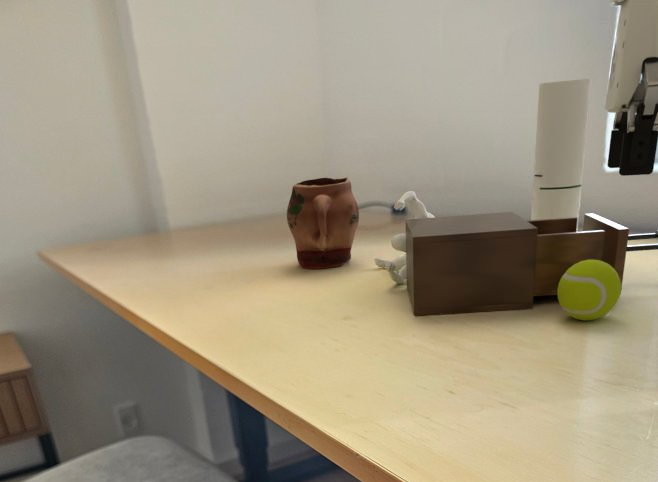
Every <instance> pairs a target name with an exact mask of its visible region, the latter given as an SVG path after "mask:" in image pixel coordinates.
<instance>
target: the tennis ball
mask: <svg viewBox="0 0 658 482" xmlns="http://www.w3.org/2000/svg"><path fill="white" fill-rule="evenodd" d="M557 292H558V295H557V300H558V303H559V305H560V307H561V308H562V310H563V311H564V312H565V313H566V314H567V315H568V316H570V317H572V318H573V319H576V320H579V321H593V320H597V319H600V318H602V317H605V316H606V315H607V314H609V313H610V312H611V311H612V310H613V309H614V307H615V306H616V305H617V304H618V302H619V300H620V297H621V295H620V293H621V294H622V289H621V282H620V278H619V276H618V273H617V272H616V271H615V269H614V268H613V267H612V266H610V265H609V264H607V263H605V262H603V261H600V260H585V261H581V262H579V263H576V264H574V265H573V266H571V267H570V268H569V269H568V270H567V271H566V273H565V274H564V275H563V276H562V278H561V280H560V282H559V285H558V291H557Z"/></svg>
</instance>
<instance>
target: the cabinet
mask: <svg viewBox="0 0 658 482" xmlns="http://www.w3.org/2000/svg"><path fill="white" fill-rule="evenodd" d="M434 217H435V216H434ZM527 221H528V220H526V219H524V218H523V217H522V216H519V214H517V213H515V212H514V211H503V212H491V213H477V214H464V215H463V214H462V215H452V216H451V215H450V216H448V215H447V216H436V217H435V218H421V219H414V218H408V219H405V232H406V253H405V254H406V274H407V279H406V290H407V296H408V298H409V302H410V306H411V309H412V314H413V316H414V317H420V316H434V315H437V316H439V315H452V314H469V313H482V312H483V313H484V312H485V313H486V312H500V311H517V310H532V309H533V306H534V303H533V302H534V296H533V293H534V279H535V264H536V249H537V235H538V228H537V227H535V226H534V225H532V224H531V223H529V222H527Z"/></svg>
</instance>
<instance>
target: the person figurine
mask: <svg viewBox="0 0 658 482" xmlns="http://www.w3.org/2000/svg"><path fill="white" fill-rule="evenodd" d="M406 204H407V206H408V208H409V210H410V212H411V213H412V214H413V215H414V218H413V219H421V218H435V215H433V214H432V213H431V212H428V211H427V208H426V206H425V204H424V202H422V201H421V200H420V199H418V198H417V194H416V192H415V191H414V190H409V191H406V192H404V193H403V194H402V195H401V197H400V198H399V199H398V200H397V201H396V202H395V204H394V206H393V209H395V210H396V211H398V210H399V211H403V210H404V208H405V207H406ZM390 241H391V242H390V243H391V244H390V245H391V247H392V249H394V250H396V251H397V252H403V253H405V254H403V255H399V256H397V257H395V258H394V259H389V258H383V257H375V258H373V260H374V264H375V265H376V266H377V267H378V268H385V269H386V271H387V272H388V274H389V276H390V279H391V280H392V282H394V283H395V284H397V285H402V284H404V283H405V281H406V280H407V274H406V231H405V232H402V233H397V234H395V235H393V236H392V237H391V240H390ZM398 271H399V272H398Z"/></svg>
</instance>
